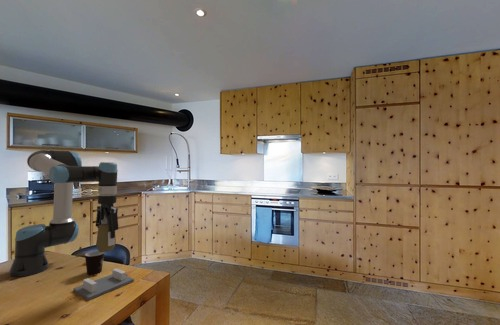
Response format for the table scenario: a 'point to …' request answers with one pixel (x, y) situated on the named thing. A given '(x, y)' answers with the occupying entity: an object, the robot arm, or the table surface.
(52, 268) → the table surface
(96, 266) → the coffee mug
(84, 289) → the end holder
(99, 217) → the robot arm
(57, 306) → the table surface
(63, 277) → the table surface
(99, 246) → the squeeze bottle
